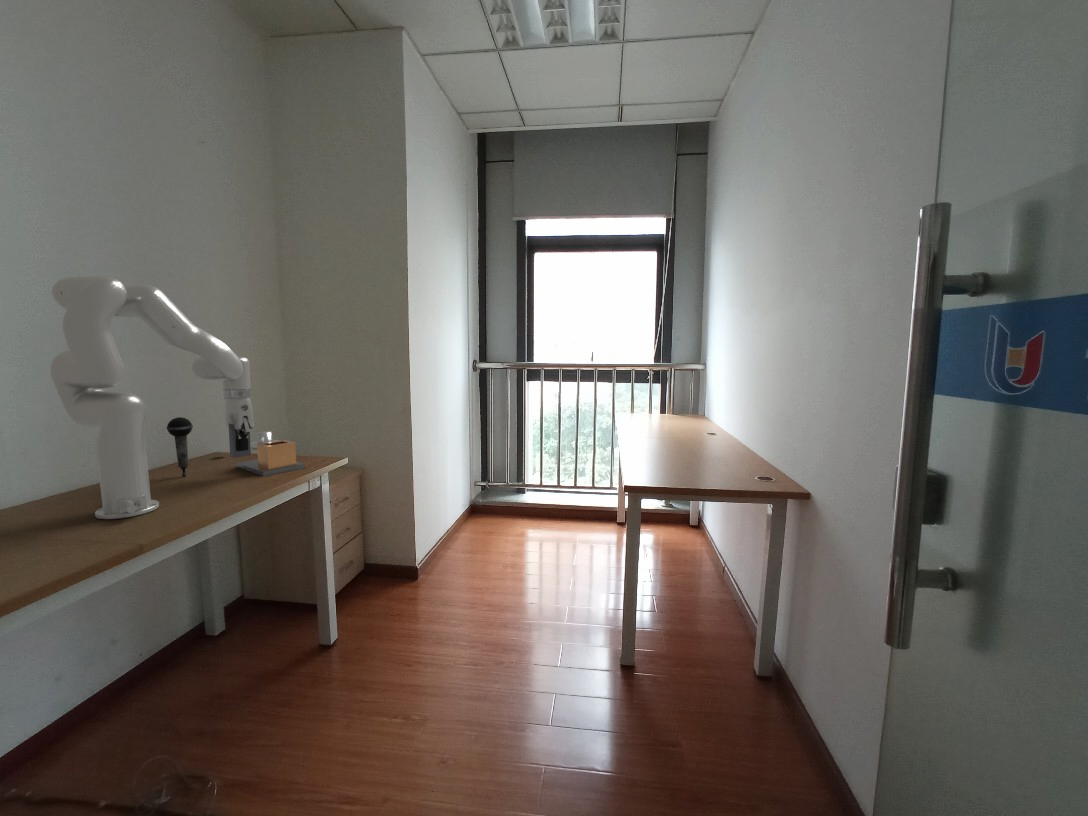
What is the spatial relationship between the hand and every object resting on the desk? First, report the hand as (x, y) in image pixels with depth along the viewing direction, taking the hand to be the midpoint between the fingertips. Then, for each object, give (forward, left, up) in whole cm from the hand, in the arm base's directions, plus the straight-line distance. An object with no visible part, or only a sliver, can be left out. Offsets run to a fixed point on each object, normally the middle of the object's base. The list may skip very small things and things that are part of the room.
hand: (240, 449), depth 156 cm
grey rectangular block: (0, 0, -2) cm, 2 cm away
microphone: (+15, +11, -10) cm, 21 cm away
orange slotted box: (+5, -12, -9) cm, 16 cm away
